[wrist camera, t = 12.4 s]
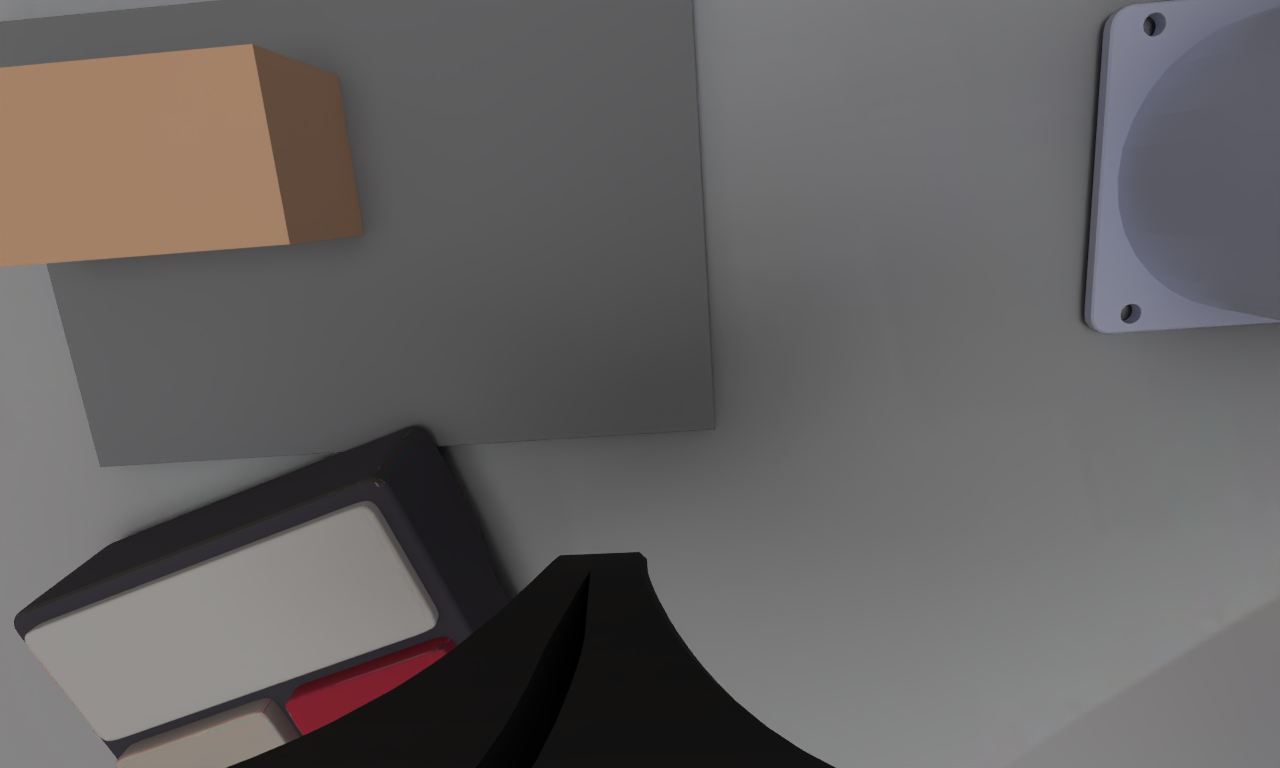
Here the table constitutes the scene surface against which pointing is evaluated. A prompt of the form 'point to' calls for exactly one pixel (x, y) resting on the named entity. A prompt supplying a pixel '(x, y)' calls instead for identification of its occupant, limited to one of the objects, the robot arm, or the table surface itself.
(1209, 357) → the table surface
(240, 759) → the calculator
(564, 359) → the mat
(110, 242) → the block
